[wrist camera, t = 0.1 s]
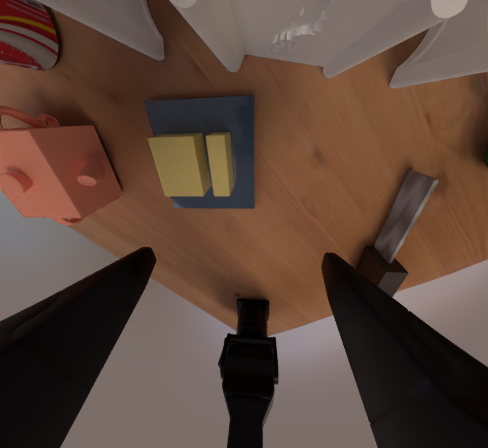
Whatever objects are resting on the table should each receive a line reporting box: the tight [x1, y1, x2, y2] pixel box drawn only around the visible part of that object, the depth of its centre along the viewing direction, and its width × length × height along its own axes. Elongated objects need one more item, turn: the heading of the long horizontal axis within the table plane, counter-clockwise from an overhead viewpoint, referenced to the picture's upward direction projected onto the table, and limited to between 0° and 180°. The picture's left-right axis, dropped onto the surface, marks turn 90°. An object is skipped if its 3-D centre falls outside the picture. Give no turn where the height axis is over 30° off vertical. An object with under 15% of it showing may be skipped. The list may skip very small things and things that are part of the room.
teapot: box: [0, 106, 123, 225], centre depth 19 cm, size 12×15×8 cm
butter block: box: [148, 133, 210, 196], centre depth 19 cm, size 6×4×3 cm
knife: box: [356, 170, 439, 297], centre depth 23 cm, size 20×3×5 cm, turn 2°
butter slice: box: [206, 132, 234, 196], centre depth 19 cm, size 6×2×3 cm, turn 2°
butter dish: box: [144, 95, 255, 209], centre depth 20 cm, size 12×11×1 cm
